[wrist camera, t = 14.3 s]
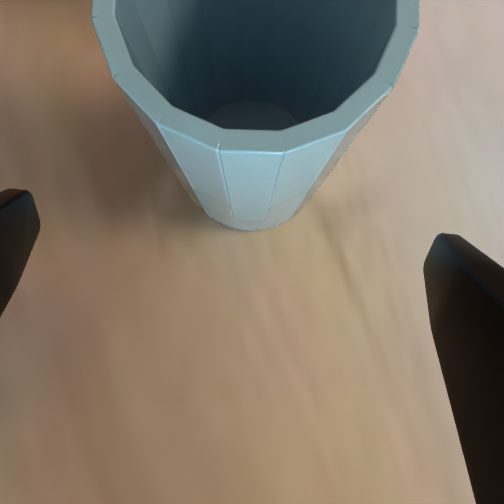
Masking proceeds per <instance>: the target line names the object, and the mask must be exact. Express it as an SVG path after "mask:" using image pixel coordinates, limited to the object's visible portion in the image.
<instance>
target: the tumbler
mask: <svg viewBox="0 0 504 504" xmlns="http://www.w3.org/2000/svg"><path fill="white" fill-rule="evenodd" d="M91 18H92V24H93V27H94V30H95V32H96V35H97V38H98V41H99V43H100V46H101V49H102V52H103V54H104V57H105V60H106V62H107V65H108V68H109V71H110V73H111V76H112V77H113V79H114V81H115V82H116V84H117V85H118V87H119V89H120V90H121V92H122V93H123V95H124V96H125V98H126V99H127V101H128V102H129V104H130V105H131V107H132V108H133V110H134V111H135V113H136V115H137V116H138V118H139V119H140V121H141V122H142V124H143V125H144V127H145V128H146V130H147V131H148V133H149V134H150V136H151V137H152V139H153V141H154V142H155V144H156V145H157V147H158V148H159V150H160V151H161V153H162V154H163V156H164V157H165V159H166V160H167V162H168V164H169V165H170V167H171V168H172V170H173V171H174V173H175V174H176V176H177V177H178V179H179V180H180V182H181V183H182V185H183V186H184V188H185V190H186V191H187V193H188V194H189V196H190V197H191V198H192V199H193V200H194V201H195V203H196V204H197V205H198V206H199V207H200V209H201V210H202V211H203V212H204V213H206V214H207V215H208V216H209V217H211V218H212V219H213V220H215V221H217V222H218V223H220V224H222V225H225V226H227V227H230V228H234V229H238V230H245V231H259V230H265V229H269V228H272V227H276V226H278V225H280V224H282V223H284V222H286V221H288V220H289V219H291V218H292V217H293V216H295V215H296V214H297V213H298V212H299V211H300V210H301V209H302V208H303V207H304V206H305V205H306V204H307V203H308V202H309V201H310V200H311V198H312V197H313V196H314V194H315V193H316V192H317V190H318V189H319V187H320V186H321V185H322V183H323V182H324V181H325V179H326V178H327V177H328V175H329V174H330V173H331V171H332V170H333V169H334V167H335V166H336V165H337V163H338V162H339V160H340V159H341V158H342V156H343V155H344V154H345V152H346V151H347V150H348V148H349V147H350V146H351V144H352V143H353V142H354V140H355V139H356V138H357V136H358V135H359V133H360V132H361V131H362V129H363V128H364V127H365V125H366V124H367V123H368V121H369V120H370V119H371V117H372V116H373V115H374V113H375V112H376V111H377V109H378V108H379V106H380V105H381V104H382V102H383V101H384V100H385V98H386V97H387V96H388V94H389V93H390V92H391V90H392V89H393V87H394V86H395V84H396V82H397V79H398V77H399V75H400V73H401V70H402V68H403V66H404V64H405V61H406V59H407V57H408V54H409V52H410V50H411V48H412V45H413V43H414V41H415V39H416V36H417V34H418V30H419V0H92V6H91Z"/></svg>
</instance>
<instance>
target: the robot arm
mask: <svg viewBox="0 0 504 504" xmlns="http://www.w3.org/2000/svg"><path fill="white" fill-rule="evenodd" d="M39 231H40V219H39V216H38V212H37V209H36V206H35V202H34V199H33V196H32V194H31V193H30V192H29V191H27V190H21V189H6V190H4V191H1V192H0V317H1V315H2V313H3V311H4V310H5V308H6V306H7V304H8V302H9V300H10V299H11V297H12V295H13V293H14V291H15V289H16V287H17V285H18V283H19V281H20V278H21V276H22V274H23V271H24V269H25V266H26V264H27V261H28V259H29V256H30V254H31V251H32V249H33V246H34V244H35V241H36V239H37V236H38V234H39ZM423 271H424V279H425V287H426V295H427V303H428V310H429V318H430V325H431V330H432V335H433V339H434V343H435V347H436V350H437V354H438V358H439V362H440V366H441V370H442V374H443V378H444V381H445V385H446V389H447V393H448V397H449V401H450V405H451V408H452V412H453V416H454V420H455V424H456V428H457V432H458V436H459V439H460V443H461V447H462V451H463V455H464V459H465V463H466V466H467V470H468V474H469V478H470V482H471V486H472V490H473V493H474V497H475V501H476V504H504V268H503V267H502V266H500V265H499V264H497V263H496V262H495V261H493V260H492V259H491V258H489V257H488V256H487V255H485V254H484V253H482V252H481V251H480V250H478V249H477V248H476V247H474V246H473V245H472V244H470V243H469V242H468V241H466V240H465V239H463V238H462V237H461V236H459V235H456V234H446V233H441V234H439V235H437V236H436V238H435V240H434V242H433V244H432V246H431V248H430V251H429V253H428V255H427V257H426V259H425V262H424V268H423Z"/></svg>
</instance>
